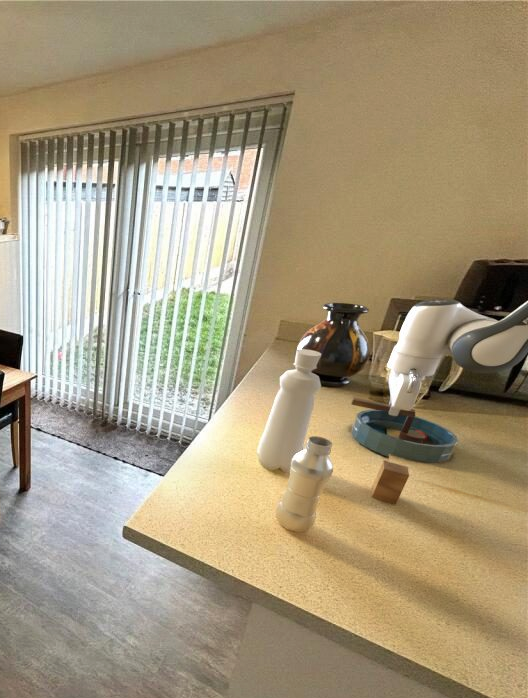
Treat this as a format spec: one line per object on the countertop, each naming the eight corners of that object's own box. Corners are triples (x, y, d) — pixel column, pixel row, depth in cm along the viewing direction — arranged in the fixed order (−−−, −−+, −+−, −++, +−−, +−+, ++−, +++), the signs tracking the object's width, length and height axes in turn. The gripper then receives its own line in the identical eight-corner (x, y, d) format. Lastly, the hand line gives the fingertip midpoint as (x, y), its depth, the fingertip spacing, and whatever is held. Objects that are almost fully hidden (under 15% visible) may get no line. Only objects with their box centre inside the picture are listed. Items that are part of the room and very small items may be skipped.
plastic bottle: (319, 532, 78) (352, 447, 70) (293, 540, 76) (323, 453, 68) (290, 511, 83) (317, 429, 75) (265, 517, 82) (290, 435, 74)
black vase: (363, 395, 134) (393, 315, 123) (289, 383, 145) (310, 308, 134) (354, 375, 151) (380, 303, 140) (288, 365, 162) (307, 298, 151)
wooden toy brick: (394, 495, 88) (407, 466, 84) (395, 504, 85) (409, 475, 82) (371, 488, 90) (383, 460, 87) (371, 497, 87) (384, 468, 84)
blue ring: (442, 442, 107) (451, 423, 105) (453, 476, 93) (464, 455, 91) (351, 421, 118) (357, 403, 116) (348, 449, 105) (356, 429, 102)
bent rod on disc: (419, 442, 104) (434, 411, 101) (421, 449, 101) (436, 418, 98) (342, 424, 114) (353, 395, 110) (342, 430, 111) (353, 401, 107)
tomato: (423, 441, 106) (428, 431, 105) (424, 446, 104) (429, 436, 103) (407, 437, 108) (412, 427, 107) (408, 442, 106) (413, 432, 105)
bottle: (257, 471, 96) (289, 356, 84) (252, 451, 104) (280, 344, 92) (300, 479, 93) (340, 361, 81) (291, 458, 101) (326, 348, 89)
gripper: (434, 379, 90) (411, 431, 95) (424, 355, 104) (405, 402, 110) (398, 373, 93) (377, 423, 99) (393, 351, 108) (375, 396, 113)
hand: (392, 412), depth 104 cm, fingers closed on bent rod on disc
